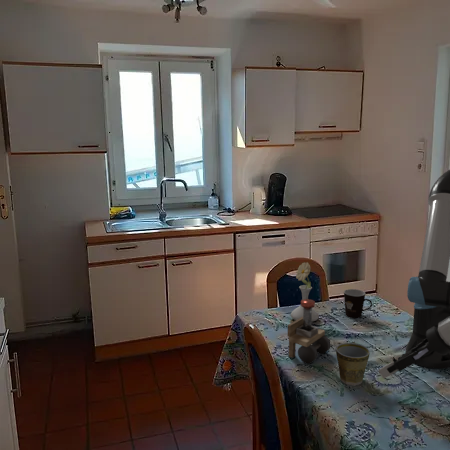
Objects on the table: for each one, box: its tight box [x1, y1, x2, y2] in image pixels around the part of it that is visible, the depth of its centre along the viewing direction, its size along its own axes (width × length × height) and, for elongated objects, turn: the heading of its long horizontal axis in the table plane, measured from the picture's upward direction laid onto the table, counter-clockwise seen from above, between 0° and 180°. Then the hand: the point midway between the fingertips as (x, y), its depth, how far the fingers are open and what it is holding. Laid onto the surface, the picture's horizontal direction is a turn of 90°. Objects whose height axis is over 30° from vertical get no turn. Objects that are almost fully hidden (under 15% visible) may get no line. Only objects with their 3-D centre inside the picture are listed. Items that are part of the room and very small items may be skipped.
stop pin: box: [300, 298, 316, 331], centre depth 156 cm, size 5×5×11 cm
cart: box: [287, 317, 332, 364], centre depth 157 cm, size 10×12×12 cm
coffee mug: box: [343, 288, 373, 319], centre depth 189 cm, size 12×9×10 cm
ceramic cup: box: [335, 341, 371, 387], centre depth 142 cm, size 13×10×10 cm
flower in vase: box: [290, 261, 320, 323], centre depth 185 cm, size 13×11×25 cm
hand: (381, 373), depth 135 cm, fingers closed
